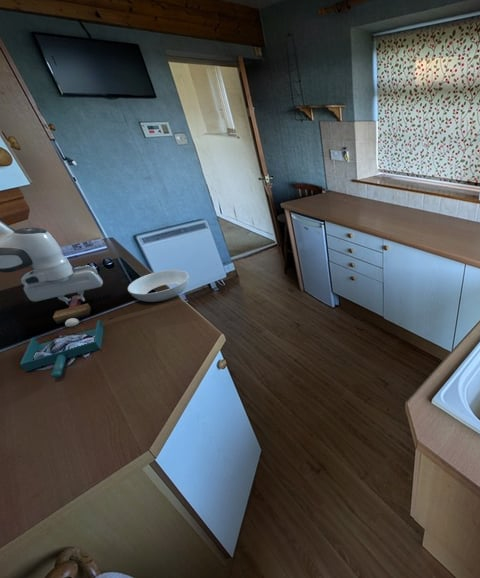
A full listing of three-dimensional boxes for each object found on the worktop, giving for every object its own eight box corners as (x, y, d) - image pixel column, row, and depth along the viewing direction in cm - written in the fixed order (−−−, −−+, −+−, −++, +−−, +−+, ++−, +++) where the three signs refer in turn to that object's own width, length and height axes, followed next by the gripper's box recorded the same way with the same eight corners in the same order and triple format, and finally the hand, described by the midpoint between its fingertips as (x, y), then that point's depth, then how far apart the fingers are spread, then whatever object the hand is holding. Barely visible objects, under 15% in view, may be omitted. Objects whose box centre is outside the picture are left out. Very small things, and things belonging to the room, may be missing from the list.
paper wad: (67, 331, 103) (61, 323, 102) (69, 326, 106) (63, 318, 104) (81, 327, 105) (75, 319, 103) (82, 322, 108) (77, 315, 106)
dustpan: (38, 345, 97) (31, 337, 95) (104, 327, 106) (99, 319, 104) (17, 395, 80) (9, 386, 78) (97, 368, 89) (91, 360, 87)
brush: (91, 317, 110) (86, 309, 108) (58, 325, 105) (52, 317, 103) (95, 299, 120) (90, 292, 118) (65, 306, 115) (60, 299, 114)
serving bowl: (190, 302, 120) (184, 287, 116) (128, 313, 113) (120, 298, 109) (196, 279, 136) (191, 265, 133) (142, 287, 129) (135, 274, 126)
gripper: (94, 261, 114) (110, 290, 122) (18, 275, 104) (42, 307, 111) (92, 266, 110) (110, 297, 117) (13, 282, 100) (38, 315, 107)
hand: (76, 302), depth 114 cm, fingers closed on brush, 2 cm apart
